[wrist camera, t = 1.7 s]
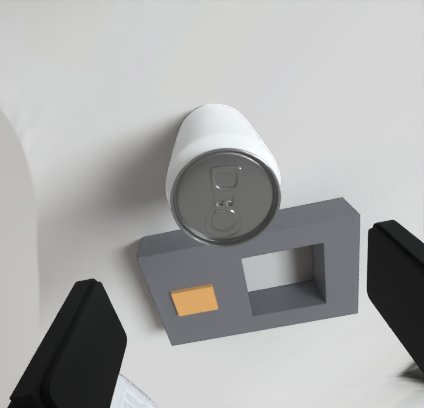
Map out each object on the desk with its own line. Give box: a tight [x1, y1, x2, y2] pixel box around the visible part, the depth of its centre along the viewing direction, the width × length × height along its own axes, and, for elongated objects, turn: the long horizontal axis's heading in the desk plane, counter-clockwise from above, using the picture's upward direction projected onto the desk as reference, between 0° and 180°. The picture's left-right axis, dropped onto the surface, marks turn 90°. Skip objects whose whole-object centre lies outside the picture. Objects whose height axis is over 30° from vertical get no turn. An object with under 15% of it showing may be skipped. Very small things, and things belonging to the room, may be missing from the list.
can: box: [166, 104, 281, 248], centre depth 20 cm, size 6×6×12 cm
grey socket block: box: [137, 197, 360, 346], centre depth 30 cm, size 12×20×4 cm, turn 102°
